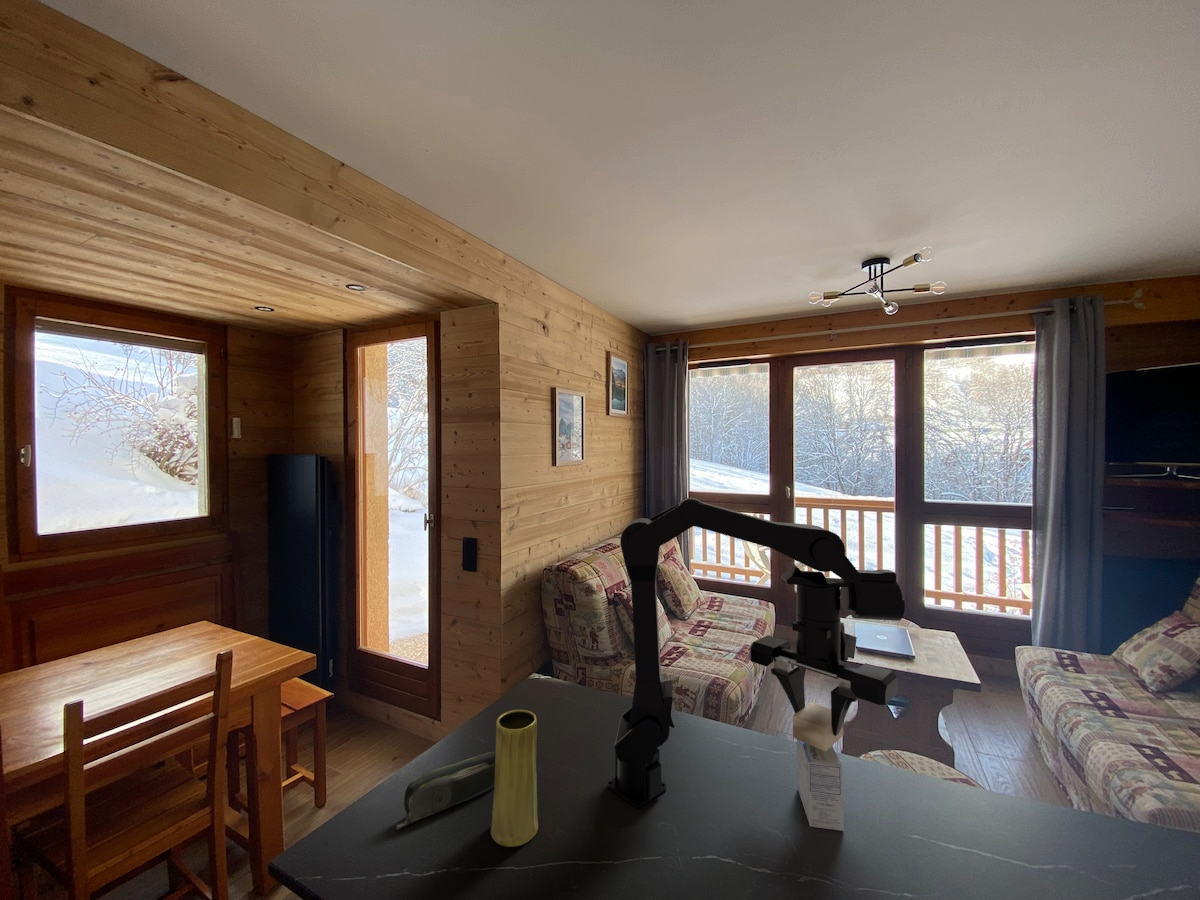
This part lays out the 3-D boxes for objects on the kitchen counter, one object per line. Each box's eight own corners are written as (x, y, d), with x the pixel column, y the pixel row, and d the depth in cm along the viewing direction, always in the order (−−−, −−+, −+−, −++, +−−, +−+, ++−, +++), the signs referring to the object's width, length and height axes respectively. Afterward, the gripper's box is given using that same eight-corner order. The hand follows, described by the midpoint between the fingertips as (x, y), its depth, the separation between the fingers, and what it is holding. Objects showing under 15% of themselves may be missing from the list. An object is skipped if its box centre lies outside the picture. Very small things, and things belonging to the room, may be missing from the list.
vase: (545, 819, 65) (547, 712, 65) (524, 854, 59) (526, 735, 60) (506, 808, 67) (507, 704, 67) (481, 840, 61) (483, 726, 62)
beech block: (792, 737, 67) (792, 715, 68) (811, 722, 72) (811, 701, 72) (825, 751, 64) (825, 728, 64) (843, 735, 68) (843, 713, 68)
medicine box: (844, 833, 63) (844, 766, 63) (808, 827, 64) (807, 761, 64) (828, 793, 71) (828, 733, 71) (796, 789, 72) (796, 730, 72)
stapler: (493, 745, 74) (393, 783, 64) (503, 754, 72) (400, 794, 62) (492, 778, 74) (390, 821, 64) (502, 788, 72) (398, 834, 62)
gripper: (910, 620, 67) (911, 734, 66) (782, 593, 81) (782, 687, 80) (883, 638, 59) (884, 767, 59) (747, 605, 73) (747, 709, 73)
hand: (818, 727), depth 68 cm, fingers closed on beech block, 4 cm apart
